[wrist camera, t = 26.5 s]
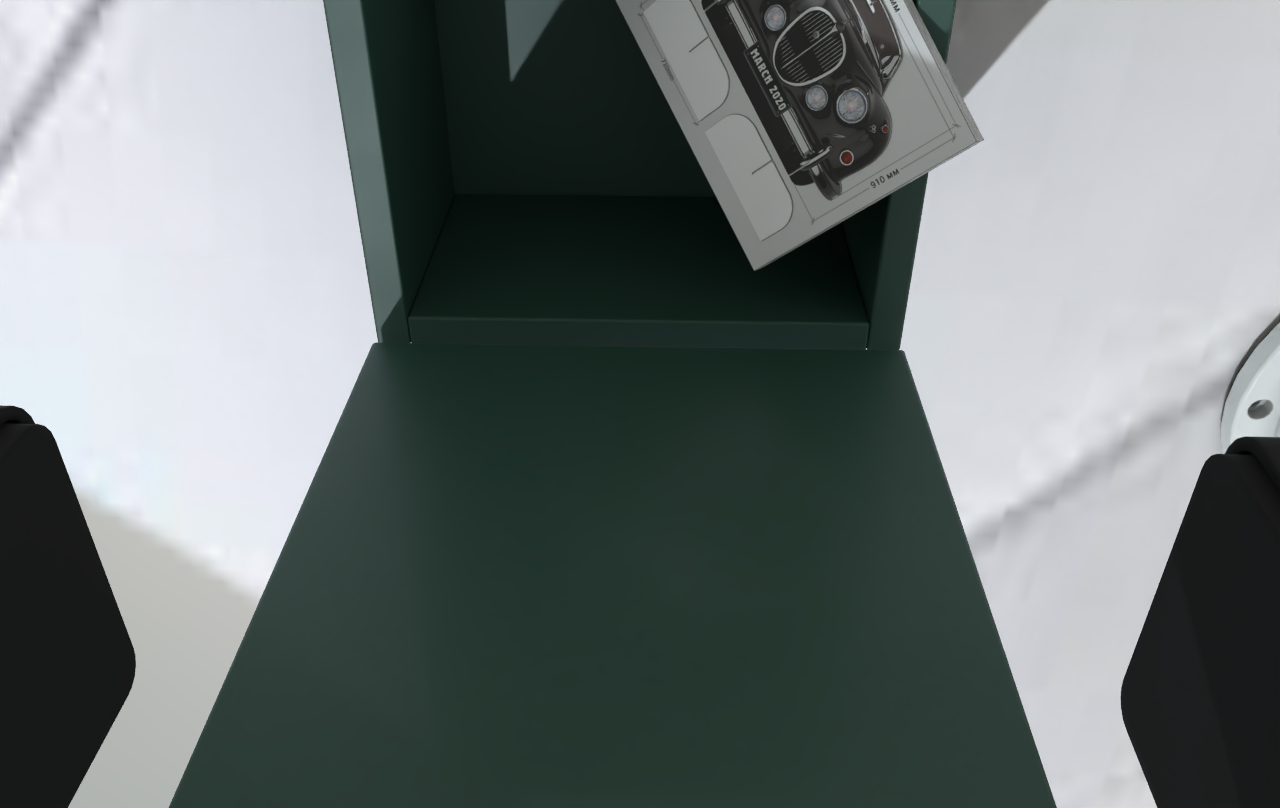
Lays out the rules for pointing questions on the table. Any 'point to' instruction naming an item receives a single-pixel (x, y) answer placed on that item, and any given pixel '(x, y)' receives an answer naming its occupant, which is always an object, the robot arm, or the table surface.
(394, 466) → the box lid
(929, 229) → the table surface
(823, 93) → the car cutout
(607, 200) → the green lidded box
